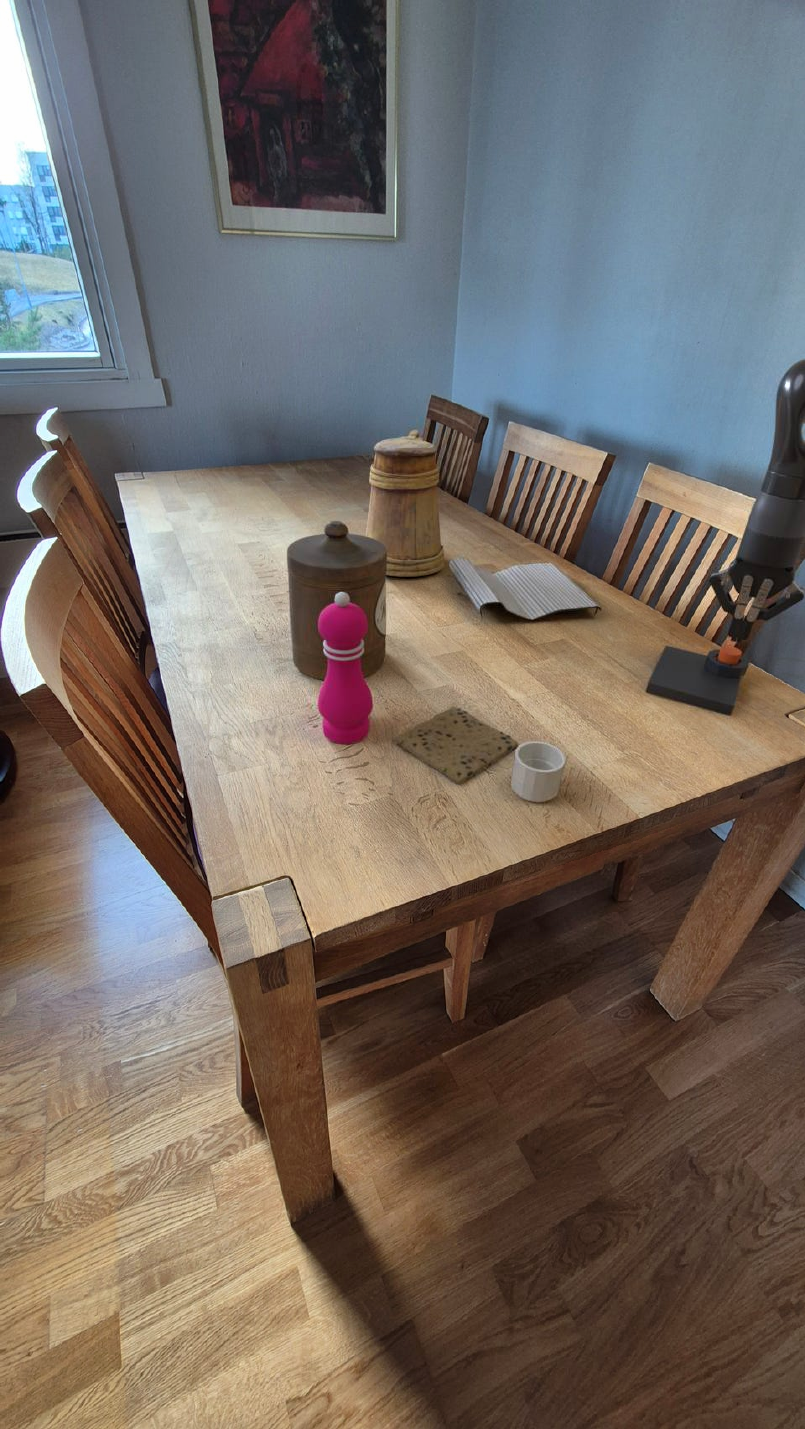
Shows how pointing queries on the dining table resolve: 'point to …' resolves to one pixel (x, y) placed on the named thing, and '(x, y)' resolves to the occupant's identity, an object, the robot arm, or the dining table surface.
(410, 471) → the tankard
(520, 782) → the white cup
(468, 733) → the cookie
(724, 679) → the scale
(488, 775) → the dining table surface
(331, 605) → the pepper mill
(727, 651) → the button
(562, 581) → the mat
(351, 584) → the wooden container
